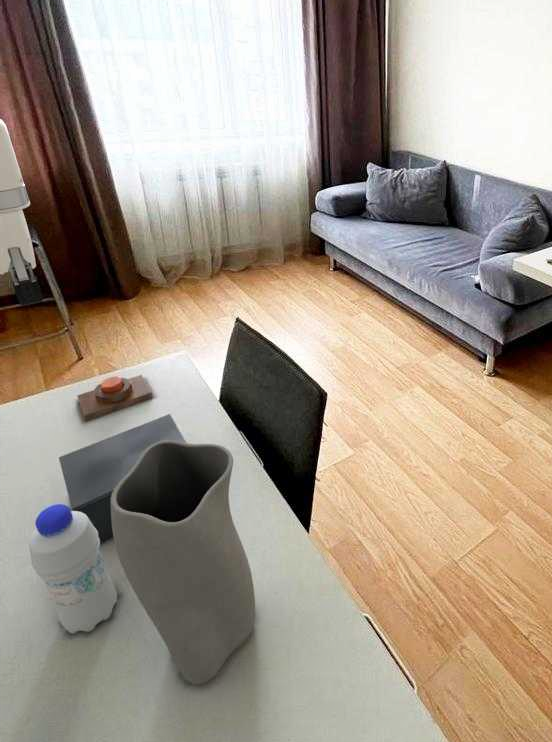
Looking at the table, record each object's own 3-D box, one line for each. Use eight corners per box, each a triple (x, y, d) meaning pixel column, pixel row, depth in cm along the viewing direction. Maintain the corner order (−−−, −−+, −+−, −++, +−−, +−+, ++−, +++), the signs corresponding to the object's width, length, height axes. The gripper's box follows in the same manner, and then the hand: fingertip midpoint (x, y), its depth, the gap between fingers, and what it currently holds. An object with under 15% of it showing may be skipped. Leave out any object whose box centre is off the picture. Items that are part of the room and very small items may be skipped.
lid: (170, 417, 90) (170, 413, 89) (193, 457, 81) (192, 454, 81) (60, 460, 79) (58, 457, 79) (73, 512, 71) (71, 508, 71)
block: (86, 424, 99) (81, 408, 97) (79, 403, 104) (74, 388, 103) (153, 400, 107) (149, 385, 105) (143, 382, 112) (139, 367, 110)
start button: (104, 396, 102) (102, 389, 101) (101, 387, 104) (99, 380, 103) (124, 389, 104) (123, 382, 103) (120, 381, 106) (119, 374, 105)
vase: (217, 715, 58) (173, 545, 45) (136, 675, 61) (73, 505, 48) (280, 614, 69) (259, 453, 56) (208, 584, 72) (172, 425, 59)
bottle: (49, 632, 65) (-1, 528, 56) (93, 584, 71) (55, 483, 62) (91, 647, 64) (47, 543, 55) (133, 597, 70) (99, 496, 61)
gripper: (-37, 190, 80) (0, 291, 87) (-35, 214, 70) (7, 326, 78) (22, 184, 84) (52, 281, 92) (33, 207, 74) (65, 312, 82)
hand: (31, 301), depth 85 cm, fingers closed
